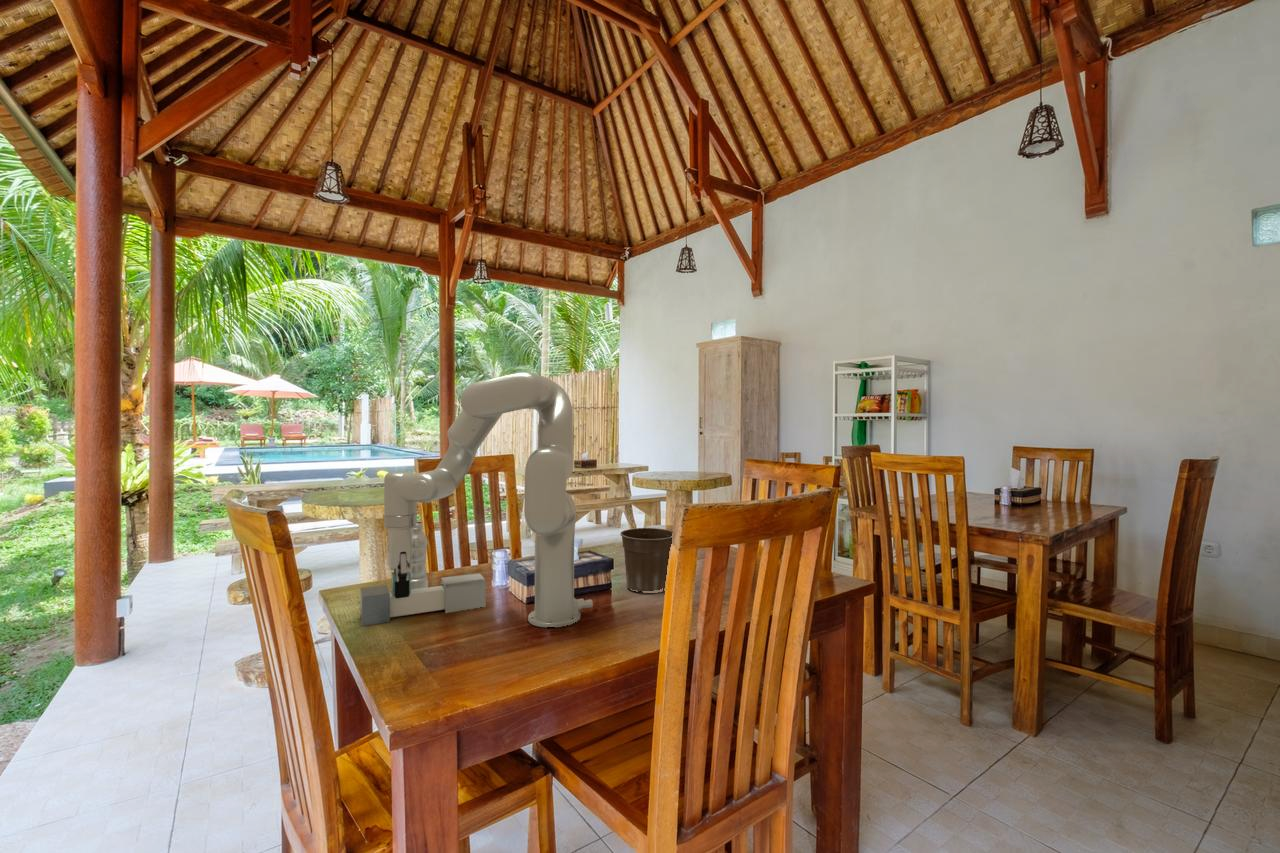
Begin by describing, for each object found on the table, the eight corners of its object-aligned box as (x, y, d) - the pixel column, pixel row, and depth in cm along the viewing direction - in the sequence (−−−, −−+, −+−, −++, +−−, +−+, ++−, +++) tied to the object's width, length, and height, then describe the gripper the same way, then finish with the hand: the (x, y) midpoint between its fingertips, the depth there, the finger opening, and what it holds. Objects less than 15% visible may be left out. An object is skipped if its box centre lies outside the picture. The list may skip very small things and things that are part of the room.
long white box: (449, 603, 150) (449, 565, 150) (452, 608, 146) (452, 569, 146) (367, 615, 141) (367, 575, 141) (368, 620, 137) (368, 578, 137)
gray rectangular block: (479, 599, 155) (479, 573, 155) (485, 607, 149) (485, 579, 149) (440, 605, 150) (440, 577, 150) (445, 613, 144) (445, 584, 144)
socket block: (386, 612, 145) (386, 584, 144) (389, 622, 138) (389, 593, 137) (360, 616, 142) (360, 588, 142) (362, 626, 135) (362, 596, 135)
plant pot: (687, 591, 163) (687, 534, 163) (639, 600, 155) (639, 540, 154) (656, 577, 177) (656, 525, 177) (610, 585, 168) (610, 531, 168)
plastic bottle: (432, 590, 163) (432, 520, 163) (421, 598, 156) (421, 525, 156) (411, 590, 164) (410, 520, 164) (398, 597, 157) (398, 524, 157)
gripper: (381, 517, 148) (381, 588, 148) (387, 528, 133) (387, 606, 133) (412, 515, 151) (412, 584, 152) (421, 525, 137) (421, 601, 137)
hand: (400, 594), depth 142 cm, fingers closed on long white box, 4 cm apart
